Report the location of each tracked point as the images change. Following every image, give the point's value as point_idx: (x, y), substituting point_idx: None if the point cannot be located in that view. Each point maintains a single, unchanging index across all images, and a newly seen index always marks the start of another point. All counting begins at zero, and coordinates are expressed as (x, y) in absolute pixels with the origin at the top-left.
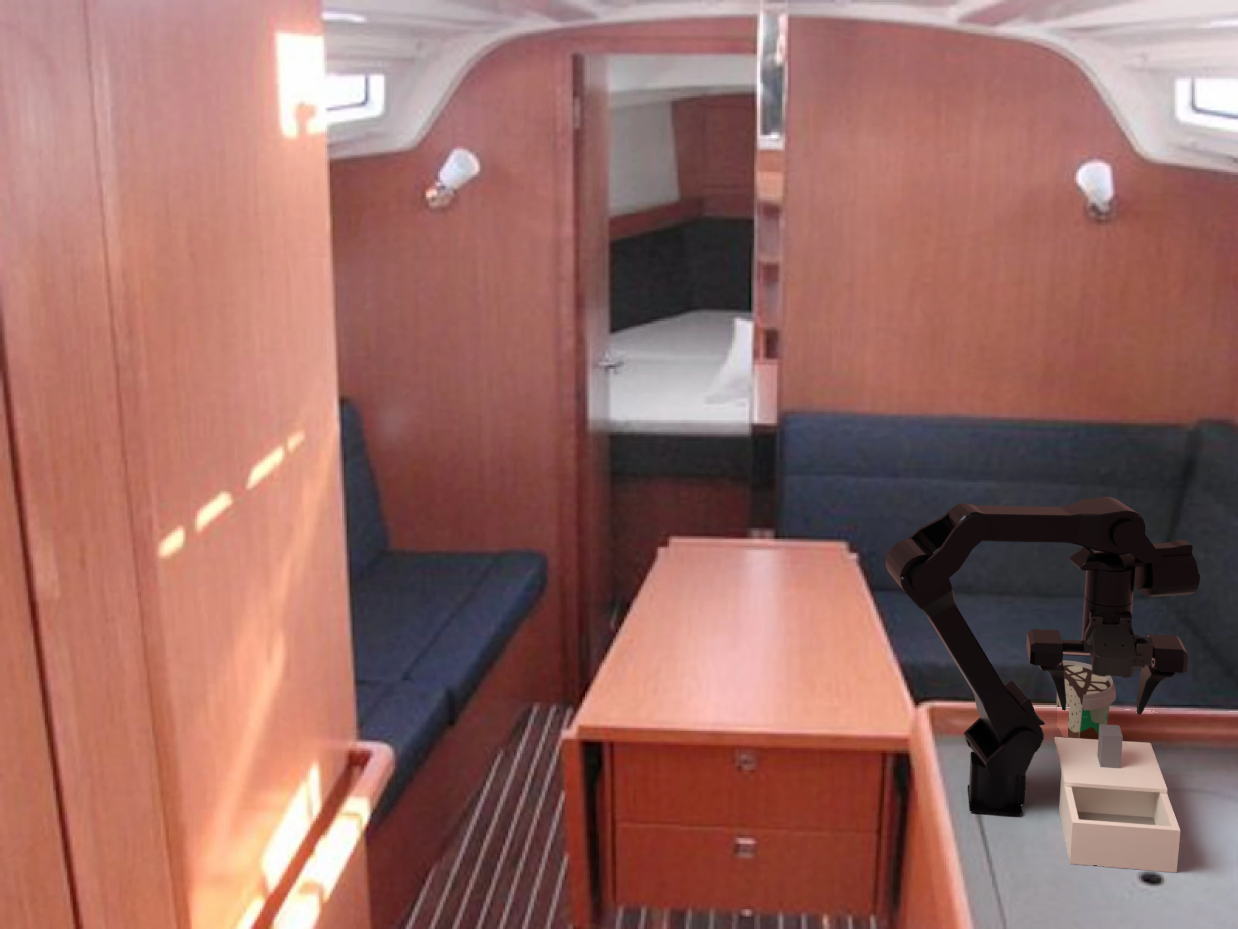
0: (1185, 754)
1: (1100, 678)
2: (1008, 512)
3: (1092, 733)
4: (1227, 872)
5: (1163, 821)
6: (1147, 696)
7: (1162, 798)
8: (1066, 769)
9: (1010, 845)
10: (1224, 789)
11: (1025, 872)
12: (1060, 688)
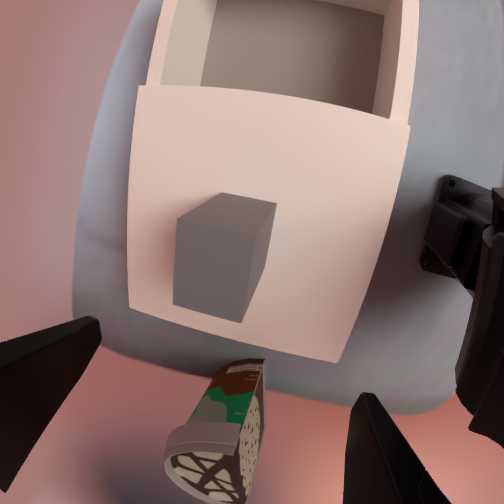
0: (112, 335)
1: (184, 474)
2: None
3: (230, 387)
4: (137, 8)
5: (187, 39)
6: (21, 342)
7: (162, 63)
8: (382, 198)
9: (480, 88)
10: (78, 243)
11: (466, 13)
12: (413, 475)
